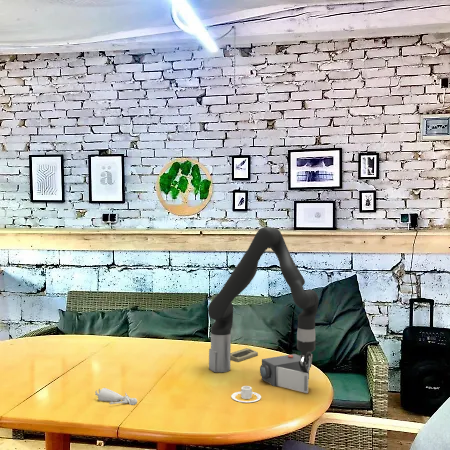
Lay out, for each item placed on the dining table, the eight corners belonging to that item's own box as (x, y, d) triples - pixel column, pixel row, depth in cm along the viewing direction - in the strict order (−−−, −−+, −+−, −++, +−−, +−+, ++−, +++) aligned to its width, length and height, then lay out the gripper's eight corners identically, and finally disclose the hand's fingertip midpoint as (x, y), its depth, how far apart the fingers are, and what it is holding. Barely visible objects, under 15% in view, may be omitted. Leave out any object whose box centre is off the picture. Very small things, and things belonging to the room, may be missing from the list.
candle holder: (252, 406, 194) (252, 395, 194) (225, 399, 200) (225, 389, 200) (266, 396, 204) (266, 386, 204) (240, 390, 210) (240, 380, 210)
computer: (238, 363, 247) (238, 356, 247) (225, 359, 253) (225, 353, 253) (258, 356, 259) (258, 350, 259) (246, 353, 264) (246, 347, 264)
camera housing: (269, 387, 213) (269, 364, 213) (256, 380, 222) (257, 358, 222) (308, 379, 223) (308, 357, 223) (294, 373, 232) (294, 352, 232)
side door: (274, 385, 214) (275, 367, 214) (276, 384, 215) (277, 366, 215) (306, 393, 205) (306, 374, 205) (308, 392, 206) (308, 373, 206)
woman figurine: (105, 382, 205) (144, 391, 199) (105, 393, 205) (144, 402, 199) (88, 392, 194) (129, 402, 188) (87, 403, 195) (128, 413, 188)
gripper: (302, 333, 217) (301, 373, 217) (292, 341, 205) (292, 383, 206) (319, 335, 213) (319, 376, 214) (310, 343, 201) (310, 386, 202)
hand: (305, 379), depth 210 cm, fingers closed
